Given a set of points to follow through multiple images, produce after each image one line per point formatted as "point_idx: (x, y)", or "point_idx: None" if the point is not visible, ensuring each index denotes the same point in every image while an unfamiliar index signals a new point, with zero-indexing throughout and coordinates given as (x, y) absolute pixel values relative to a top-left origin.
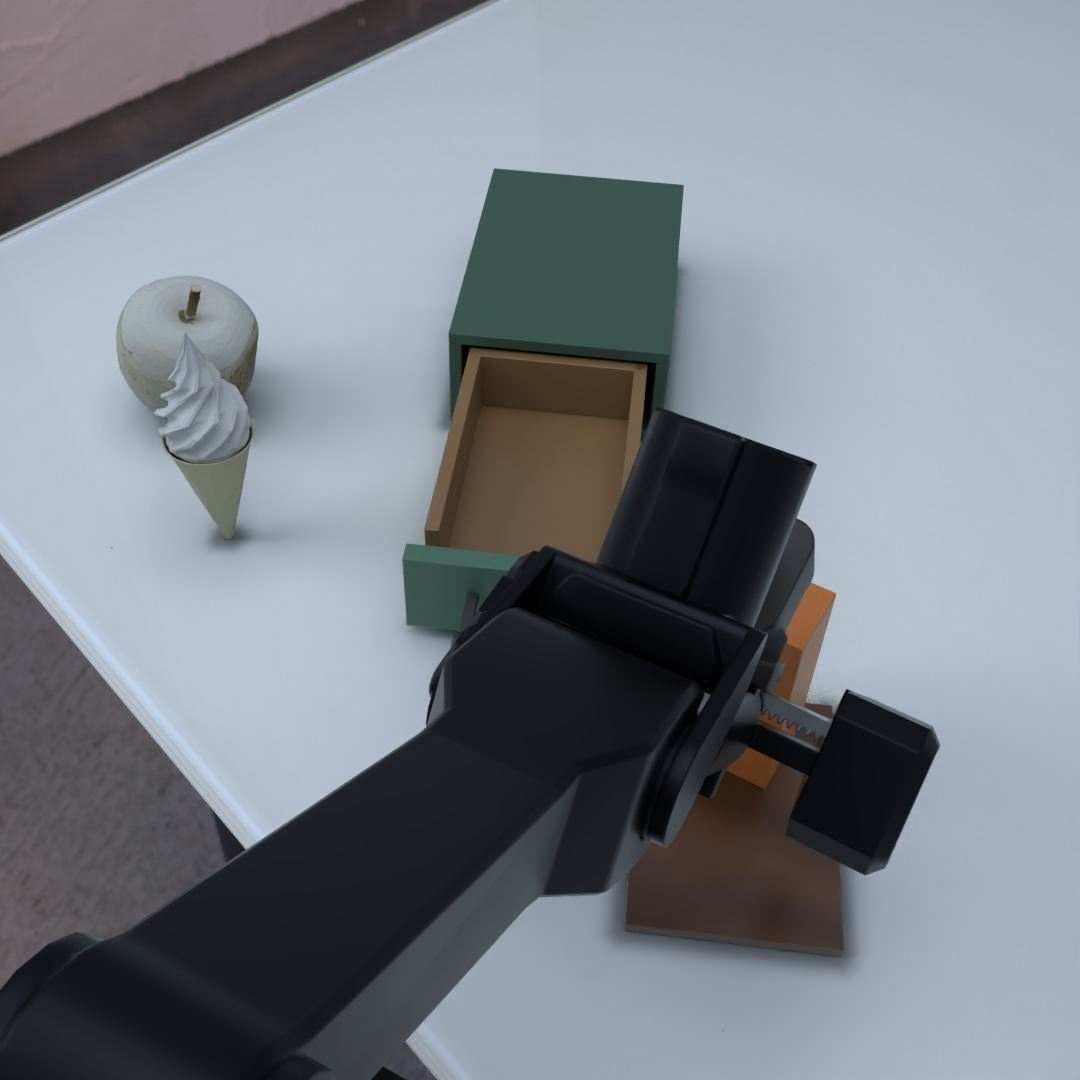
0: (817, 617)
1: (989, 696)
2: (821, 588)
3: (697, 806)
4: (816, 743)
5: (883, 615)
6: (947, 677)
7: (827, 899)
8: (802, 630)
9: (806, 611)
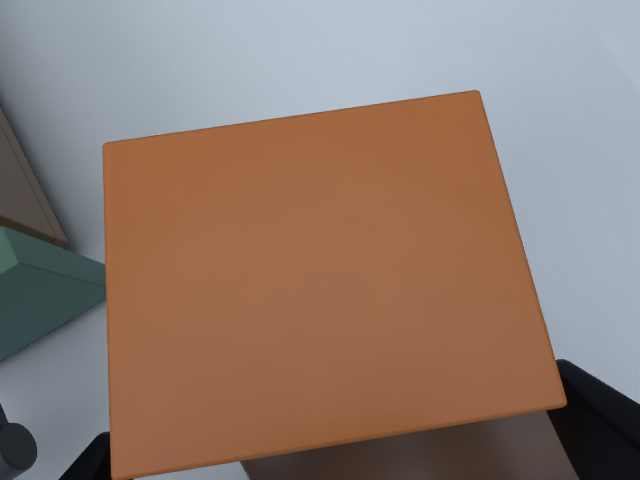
0: (501, 223)
1: (511, 58)
2: (430, 103)
3: (342, 456)
4: (596, 462)
5: (352, 33)
6: (460, 64)
7: (562, 463)
8: (504, 317)
9: (456, 225)
